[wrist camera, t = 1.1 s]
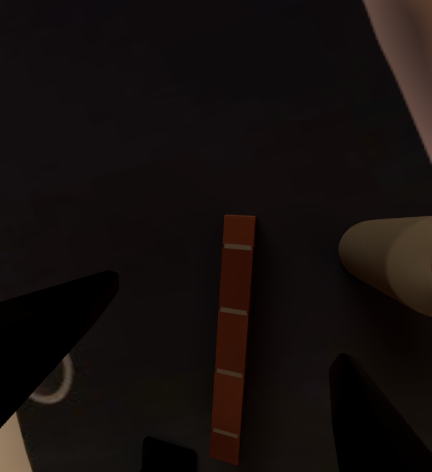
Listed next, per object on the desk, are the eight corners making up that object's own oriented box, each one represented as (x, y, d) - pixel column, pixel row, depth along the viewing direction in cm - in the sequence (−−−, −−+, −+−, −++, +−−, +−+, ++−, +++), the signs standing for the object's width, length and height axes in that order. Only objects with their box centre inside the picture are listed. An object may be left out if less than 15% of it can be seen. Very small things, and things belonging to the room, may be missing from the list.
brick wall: (243, 421, 23) (237, 466, 19) (219, 415, 24) (209, 456, 19) (257, 218, 22) (255, 216, 17) (232, 216, 22) (224, 214, 18)
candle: (338, 219, 20) (406, 212, 10) (408, 220, 19) (561, 213, 9) (335, 277, 20) (399, 324, 10) (404, 282, 19) (548, 341, 9)
